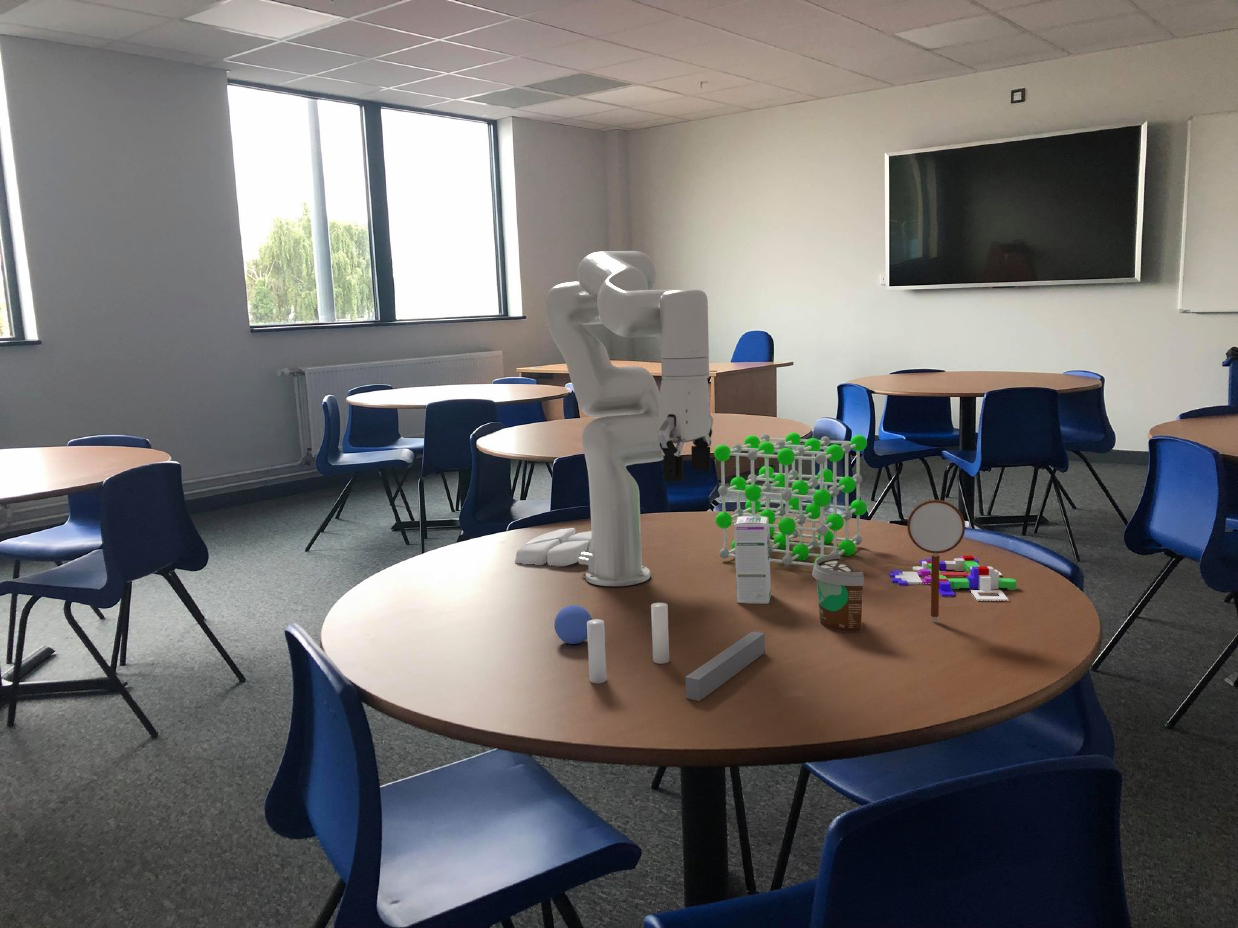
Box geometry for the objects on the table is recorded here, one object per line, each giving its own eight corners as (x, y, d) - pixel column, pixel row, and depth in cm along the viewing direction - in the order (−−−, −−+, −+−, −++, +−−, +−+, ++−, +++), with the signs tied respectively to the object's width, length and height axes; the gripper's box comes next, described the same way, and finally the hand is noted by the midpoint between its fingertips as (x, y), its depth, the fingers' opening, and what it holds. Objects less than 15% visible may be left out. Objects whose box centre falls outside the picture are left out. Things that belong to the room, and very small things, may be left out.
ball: (547, 645, 146) (545, 608, 145) (570, 633, 151) (568, 598, 150) (578, 652, 142) (576, 614, 141) (600, 639, 147) (599, 603, 146)
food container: (803, 612, 156) (802, 555, 155) (839, 610, 157) (839, 552, 155) (825, 637, 144) (825, 575, 143) (864, 635, 145) (864, 572, 143)
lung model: (505, 565, 195) (559, 547, 218) (579, 572, 188) (627, 553, 211) (505, 534, 194) (560, 519, 217) (580, 540, 188) (628, 524, 210)
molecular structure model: (869, 546, 197) (869, 433, 194) (828, 576, 177) (827, 450, 173) (763, 535, 210) (761, 429, 207) (713, 562, 190) (710, 445, 186)
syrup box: (769, 604, 162) (768, 522, 159) (735, 603, 163) (733, 522, 160) (771, 594, 167) (769, 515, 165) (737, 593, 168) (736, 515, 166)
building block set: (883, 565, 185) (883, 543, 184) (991, 565, 182) (992, 543, 181) (901, 604, 161) (901, 579, 160) (1026, 605, 157) (1027, 580, 157)
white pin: (650, 661, 137) (648, 606, 136) (658, 656, 139) (656, 601, 138) (663, 664, 136) (662, 608, 134) (672, 659, 138) (670, 604, 136)
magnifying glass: (963, 622, 149) (965, 499, 145) (963, 625, 147) (965, 501, 144) (906, 618, 151) (907, 498, 148) (906, 621, 150) (907, 500, 147)
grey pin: (586, 681, 131) (583, 623, 129) (596, 675, 133) (593, 618, 131) (600, 684, 130) (597, 625, 128) (609, 678, 131) (607, 620, 130)
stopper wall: (686, 698, 124) (685, 676, 123) (752, 650, 140) (752, 631, 140) (699, 701, 123) (698, 679, 122) (764, 652, 139) (764, 633, 138)
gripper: (688, 365, 156) (691, 465, 159) (637, 373, 142) (641, 483, 145) (729, 365, 152) (731, 467, 155) (681, 373, 138) (684, 486, 141)
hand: (687, 475), depth 150 cm, fingers open, 9 cm apart
